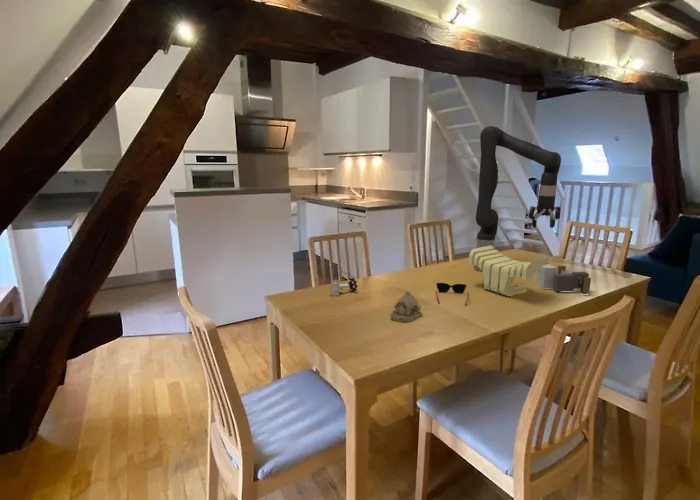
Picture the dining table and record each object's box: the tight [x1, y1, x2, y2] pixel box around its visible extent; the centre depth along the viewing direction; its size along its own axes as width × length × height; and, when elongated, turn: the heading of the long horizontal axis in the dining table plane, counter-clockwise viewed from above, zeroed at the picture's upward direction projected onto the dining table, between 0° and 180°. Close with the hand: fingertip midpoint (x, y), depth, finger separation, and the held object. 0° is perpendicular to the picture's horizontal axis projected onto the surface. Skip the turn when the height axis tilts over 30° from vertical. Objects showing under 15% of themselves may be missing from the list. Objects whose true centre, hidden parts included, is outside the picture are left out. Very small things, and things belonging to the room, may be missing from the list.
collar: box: [552, 271, 590, 292], centre depth 181 cm, size 14×3×8 cm, turn 92°
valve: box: [329, 277, 358, 297], centre depth 181 cm, size 7×7×12 cm
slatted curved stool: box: [468, 246, 550, 297], centre depth 182 cm, size 30×16×18 cm, turn 33°
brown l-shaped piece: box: [556, 265, 592, 294], centre depth 186 cm, size 10×21×8 cm, turn 2°
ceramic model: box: [389, 290, 424, 323], centre depth 155 cm, size 14×11×10 cm
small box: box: [535, 263, 558, 289], centre depth 188 cm, size 8×6×10 cm
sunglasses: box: [435, 282, 470, 307], centre depth 174 cm, size 14×16×5 cm
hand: (542, 227), depth 195 cm, fingers open, 8 cm apart
